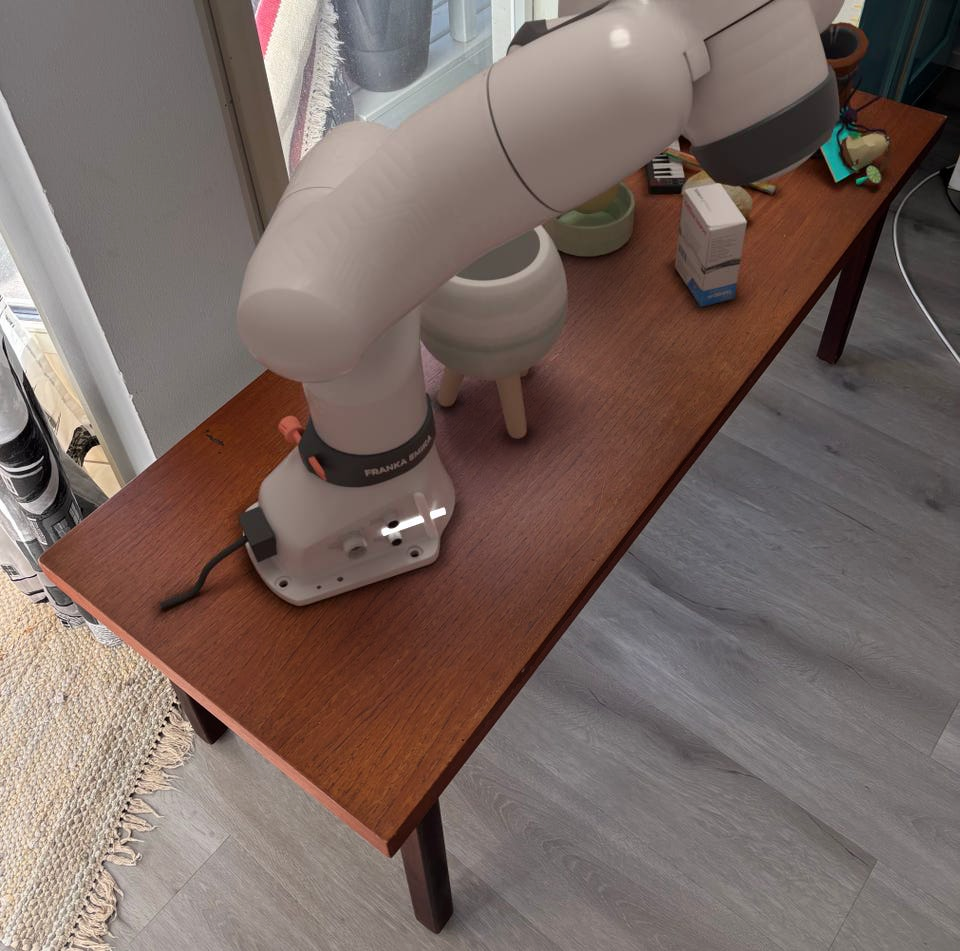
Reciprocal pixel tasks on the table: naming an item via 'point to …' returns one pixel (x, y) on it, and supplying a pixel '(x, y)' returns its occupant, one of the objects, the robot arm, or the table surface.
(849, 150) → the diorama
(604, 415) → the table surface
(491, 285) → the planter
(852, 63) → the mug
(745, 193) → the seashell
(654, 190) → the midi keyboard
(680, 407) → the table surface
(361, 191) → the robot arm
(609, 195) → the fruit
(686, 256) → the ink box
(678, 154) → the pencil
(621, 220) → the bowl
